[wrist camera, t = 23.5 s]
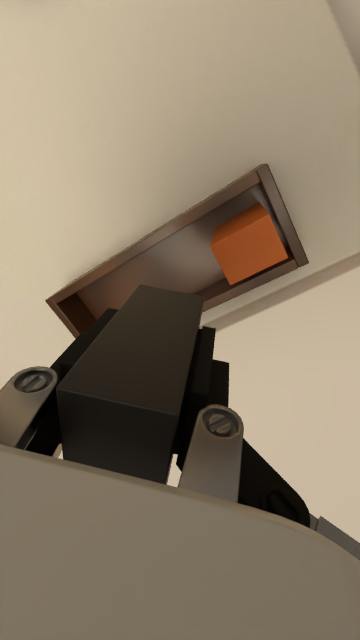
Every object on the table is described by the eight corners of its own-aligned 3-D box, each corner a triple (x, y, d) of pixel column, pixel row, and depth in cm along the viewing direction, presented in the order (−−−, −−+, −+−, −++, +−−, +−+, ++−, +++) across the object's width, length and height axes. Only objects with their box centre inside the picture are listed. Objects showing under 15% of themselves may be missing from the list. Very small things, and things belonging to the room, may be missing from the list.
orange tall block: (274, 235, 24) (288, 257, 18) (231, 257, 25) (230, 285, 19) (259, 201, 23) (269, 213, 17) (215, 226, 24) (209, 246, 18)
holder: (261, 163, 22) (267, 163, 19) (298, 249, 25) (309, 263, 21) (66, 285, 30) (44, 300, 27) (109, 340, 33) (94, 362, 29)
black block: (204, 295, 13) (178, 415, 7) (191, 367, 15) (161, 511, 8) (139, 283, 13) (54, 387, 7) (134, 355, 15) (65, 487, 9)
